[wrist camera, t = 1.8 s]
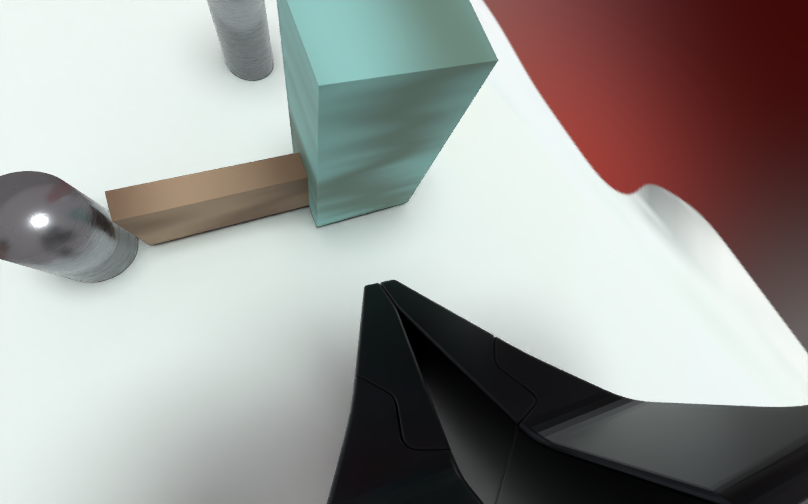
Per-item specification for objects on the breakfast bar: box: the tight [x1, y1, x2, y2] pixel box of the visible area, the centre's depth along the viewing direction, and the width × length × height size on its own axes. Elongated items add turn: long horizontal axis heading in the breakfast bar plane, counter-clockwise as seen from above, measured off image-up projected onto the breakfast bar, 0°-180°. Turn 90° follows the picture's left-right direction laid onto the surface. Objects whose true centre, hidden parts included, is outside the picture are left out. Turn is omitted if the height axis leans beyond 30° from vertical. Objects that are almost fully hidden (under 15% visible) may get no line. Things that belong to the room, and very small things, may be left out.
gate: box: [105, 0, 498, 245], centre depth 12 cm, size 12×4×10 cm, turn 112°
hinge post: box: [0, 171, 138, 282], centre depth 13 cm, size 3×3×4 cm
